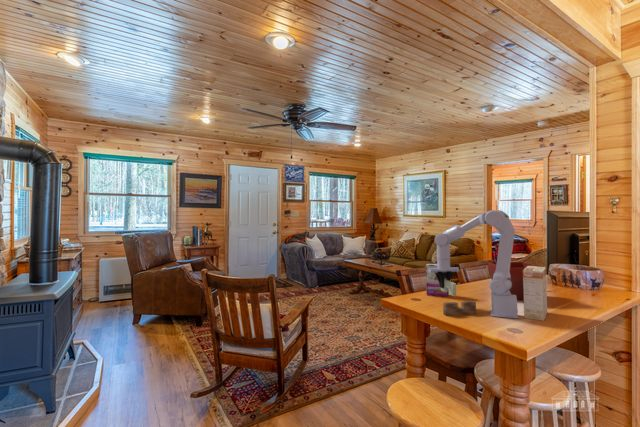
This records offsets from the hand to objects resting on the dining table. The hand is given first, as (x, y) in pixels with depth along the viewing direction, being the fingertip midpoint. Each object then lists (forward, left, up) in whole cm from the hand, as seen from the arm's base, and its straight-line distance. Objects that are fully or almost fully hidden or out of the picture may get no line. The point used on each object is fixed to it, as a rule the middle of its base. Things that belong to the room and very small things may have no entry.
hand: (444, 287), depth 154 cm
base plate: (-7, +13, -8) cm, 17 cm away
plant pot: (-32, -28, -8) cm, 43 cm away
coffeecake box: (-36, +3, -8) cm, 37 cm away
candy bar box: (+5, -20, -8) cm, 22 cm away
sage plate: (-2, +3, -2) cm, 4 cm away
